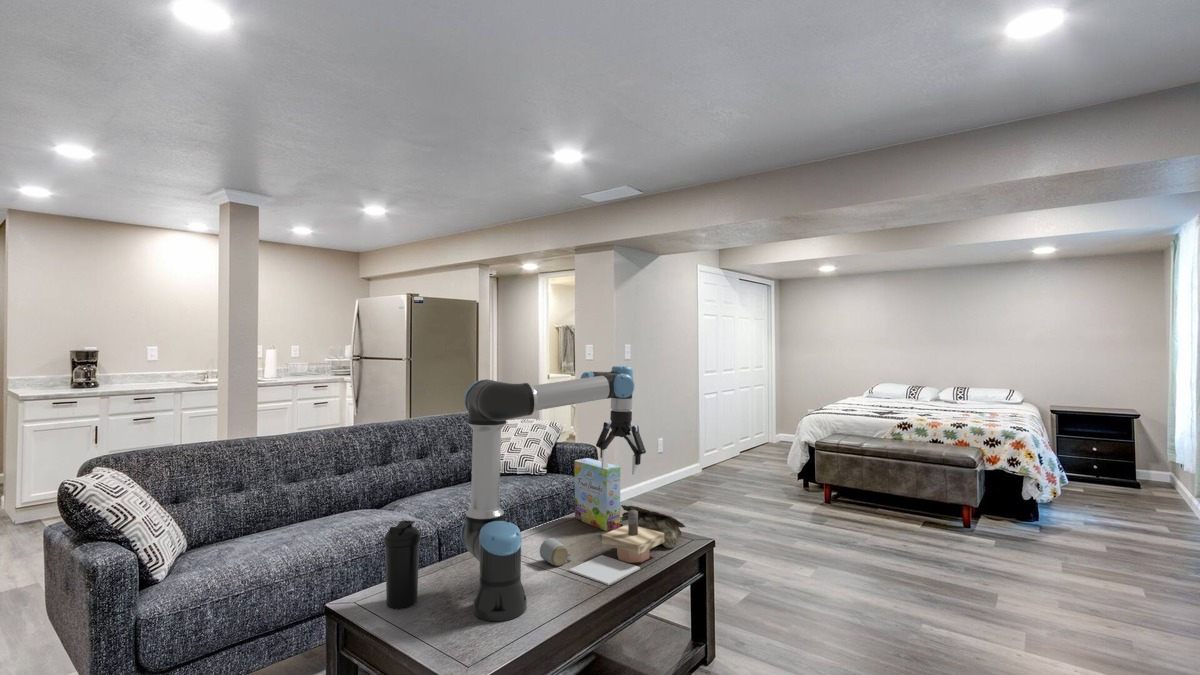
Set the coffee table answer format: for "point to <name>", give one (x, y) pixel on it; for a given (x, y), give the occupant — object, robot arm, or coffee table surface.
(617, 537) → the lid
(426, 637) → the coffee table surface
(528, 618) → the coffee table surface
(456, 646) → the coffee table surface
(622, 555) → the bowl
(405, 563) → the water bottle
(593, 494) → the snack box
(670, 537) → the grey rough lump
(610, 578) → the mat
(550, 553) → the ceramic mug
